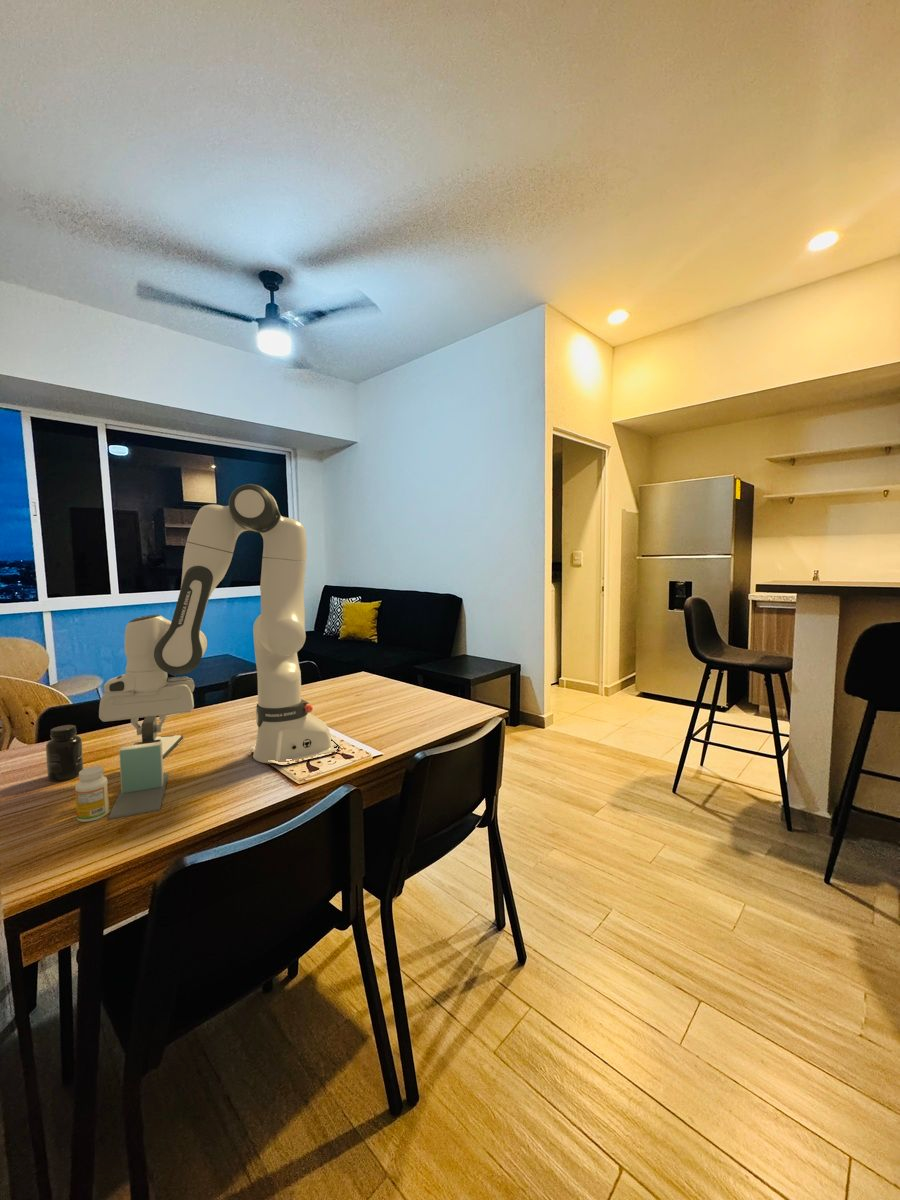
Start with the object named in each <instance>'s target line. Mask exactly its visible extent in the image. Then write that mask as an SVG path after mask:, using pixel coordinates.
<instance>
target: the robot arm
mask: <svg viewBox="0 0 900 1200" xmlns="http://www.w3.org/2000/svg"><path fill="white" fill-rule="evenodd" d="M248 533H255V534H256V533H258V534H260V535H261V537H262V539H263V540H262V541H263V550H262V559H261V570H260V571H261V574H260V583H259V584H260V586H259V589H260V614H259V615H258V616H257V617H256V619H255V620H254V623H253V626H252V627H253V628H252V629H253V630H252V633H253V645H254V647H253V648H254V656H255V657H254V658H255V666H256V673H257V674H256V676H257V704H256V709H255V717H256V718H255V719H256V721H255V722H256V725H257V733H256V742H255V745H254V746H255V748H254V751H253V754H252V757H253V759H254V760H255V761H257V762H260V763H262V764H269V763H268V760H275V761H278V762H289V761H286V759H292V760H290V761H294V760H299V759H304V758H308V757H311V756H316V755H321V754H326V753H329V752H334V751H336V750H337V749H338V747H337V748H334V747H336V746H337V745H336V744H335V743H334V742H333V741H331V736H332V735H331V732H330V729H329V726H328V725H327V723H326V722H325V721H324V720H322V719H320V718H318V716H315V715H314V714H312V711H313V705H312V704H311V703H309V702H308V701H307V700H306V699H302V677H301V676H302V674H301V672H302V671H301V668H300V661H299V657H298V652H299V651H300V650H301V649H302V648H303V647H304V644H305V642H306V638H307V635H306V618H305V617H306V616H305V615H306V612H305V611H306V609H305V592H304V591H305V582H306V581H305V579H306V568H307V567H306V566H307V553H308V551H307V548H308V547H307V535H306V529H305V527H304V525H303V524H302V523H301V522H300V521H298V520H296V519H294V518H290V517H287V516H282V515H281V513H280V510H279V506H278V504H277V501H276V499H275V498H274V496H273V495H272V494H271V493H270V492H269V491H268V490H267V489H265V488H264V487H262V486H261V485H258V484H253V483H247V484H242V485H240V486H238V487H236V488H235V489H234V490H233V491H232V492H231V495H230V497H229V498H228V505H220V504H207V505H206V504H205V505H203V506H202V507H200V508H199V510H198V511H197V513H196V515H195V517H194V519H193V521H192V524H191V526H190V529H189V532H188V536H187V539H186V542H185V547H184V551H183V552H184V553H183V557H182V558H183V559H182V572H181V573H182V574H181V584H180V591H179V593H178V598H177V601H176V606H175V609H174V611H173V616H172V618H171V619H172V620H170V619H168V618H165V617H164V616H162V615H160V614H149V615H142V616H139V617H135V618H133V619H132V620H130V621H129V622H128V623H127V624H126V626H125V631H124V655H125V657H126V666H125V673H123V674H120V675H118V676H115V677H112V678H110V679H108V680H107V681H106V682H105V683H104V686H103V691H104V694H103V695H102V696H101V698H100V700H99V706H98V707H99V709H98V718H99V719H100V720H101V722H103V723H104V722H113V721H114V722H115V721H123V720H130V724H131V725H132V727H134V729H136V736H142V727H141V724H140V723H139V722H138V721H139V718H140V719H142V718H145V717H151V716H156V717H158V719H159V721H160V722H159V723H158V724H156V725H155V727H154V728H155V733H157V734H159V733H162V732H163V724H164V722H165V720H166V719H167V716H168V715H178V714H185V713H186V714H187V713H190V712H192V710H193V709H194V707H195V703H194V695H193V692H194V690H195V681H194V680H193V678H191V677H188V676H179V675H186V674H189V673H190V672H192V671H194V670H195V669H197V667H198V666H199V665H200V663H201V661H202V658H203V657H204V655H205V653H206V652H207V650H208V649H207V648H208V644H209V643H208V638H207V636H206V634H205V633H204V632H203V631H202V630H201V627H202V623H203V620H204V616H205V613H206V609H207V605H208V602H209V600H210V597H211V595H212V593H213V592H214V590H215V589H216V588H217V586H218V585H219V584H220V582H221V581H223V580H224V578H225V575H226V574H227V571H228V569H229V567H230V565H231V562H232V558H233V556H234V551H235V547H236V544H237V540H238V537H239V536H240V535H241V534H248ZM168 674H170V675H176V676H175V677H174V676H173V677H168ZM177 676H178V677H177Z"/></svg>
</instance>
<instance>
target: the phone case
mask: <svg viewBox="0 0 900 1200" xmlns="http://www.w3.org/2000/svg"><path fill="white" fill-rule="evenodd" d="M159 739H161V742H162V754H163V760H164V759H166V757H168V755H169V754H170V753H172V751H173V750H174V749H176V748H177V746H178V745H179V744H180V743H181V742H182V741H183V740H184V735H183V734H182V735H181V734H176V735H175V734H174V735H173V734H172V735H158V736H156V738H155V740H159ZM182 739H183V740H182ZM181 740H182V741H181ZM180 741H181V742H180ZM179 742H180V743H179ZM178 743H179V744H178Z"/></svg>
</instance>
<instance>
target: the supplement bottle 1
mask: <svg viewBox="0 0 900 1200" xmlns="http://www.w3.org/2000/svg"><path fill="white" fill-rule="evenodd" d="M49 736H50V740H48V742H47V743H46V746H45V752H46V755H45V757H46V771H47V779H48V780H49V781H51V782H63V780H64V781H68V780H72V779H75V778H77V777H79V772H80V771H81V770H83V769H84V757H83V756H84V755H83V741H82V737H80V736H79V735H77V726H76V725H73V724H65V725H61V726H60V725H59V726H56V727H53V728H51V729H50V735H49Z"/></svg>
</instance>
